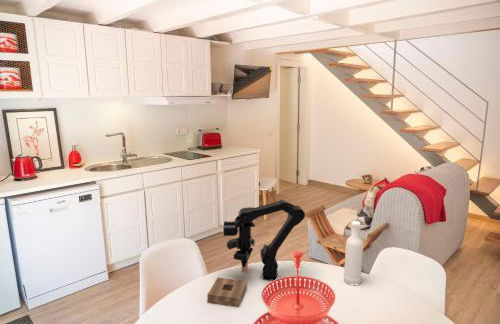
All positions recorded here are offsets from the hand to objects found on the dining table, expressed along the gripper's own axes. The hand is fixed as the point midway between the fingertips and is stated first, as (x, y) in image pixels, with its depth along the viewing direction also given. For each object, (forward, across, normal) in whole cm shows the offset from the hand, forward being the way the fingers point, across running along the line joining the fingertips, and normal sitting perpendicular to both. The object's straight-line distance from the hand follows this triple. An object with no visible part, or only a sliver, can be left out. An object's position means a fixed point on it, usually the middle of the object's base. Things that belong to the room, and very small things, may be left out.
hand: (244, 265), depth 161 cm
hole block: (+7, +16, -4) cm, 18 cm away
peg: (+3, 0, 0) cm, 3 cm away
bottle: (+7, -9, +51) cm, 52 cm away
